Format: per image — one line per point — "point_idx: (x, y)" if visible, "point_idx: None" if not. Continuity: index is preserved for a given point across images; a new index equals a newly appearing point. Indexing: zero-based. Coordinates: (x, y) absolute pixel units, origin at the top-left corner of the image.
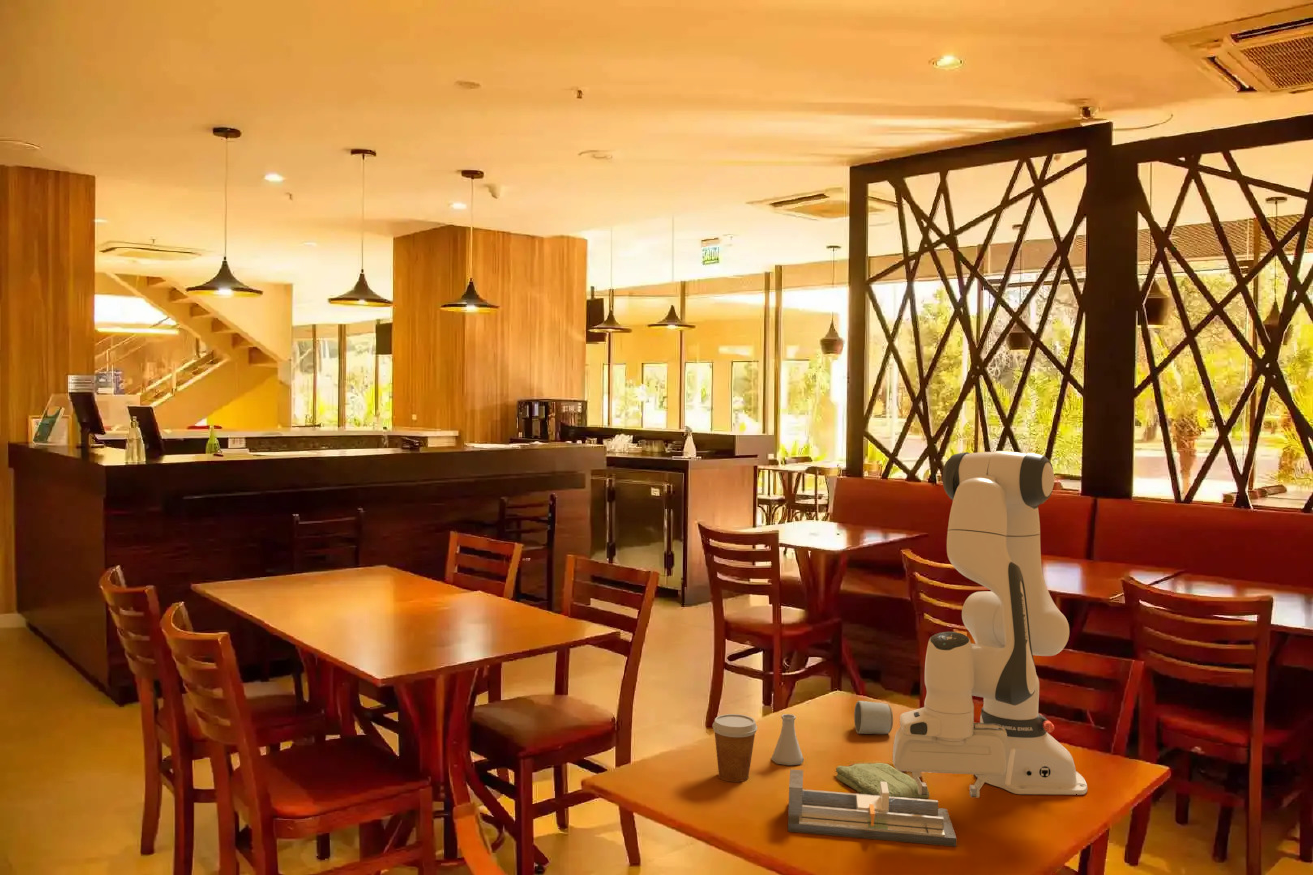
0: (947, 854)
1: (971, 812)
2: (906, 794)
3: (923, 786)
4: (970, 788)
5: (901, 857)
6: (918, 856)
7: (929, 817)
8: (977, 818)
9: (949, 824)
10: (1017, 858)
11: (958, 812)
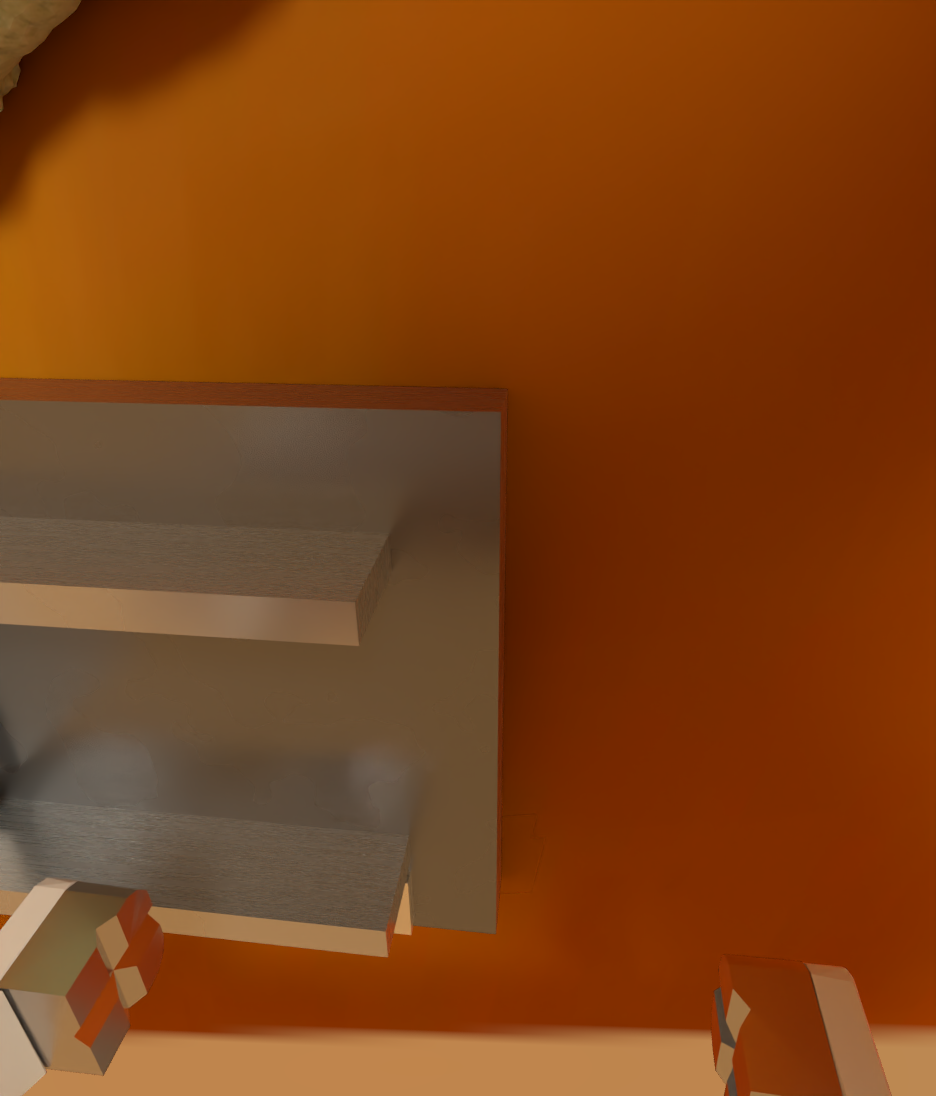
0: (430, 957)
1: (842, 201)
2: (9, 12)
3: (63, 1065)
4: (735, 1081)
5: (179, 986)
6: (265, 977)
7: (269, 942)
8: (850, 373)
9: (476, 750)
10: (881, 983)
11: (671, 239)
